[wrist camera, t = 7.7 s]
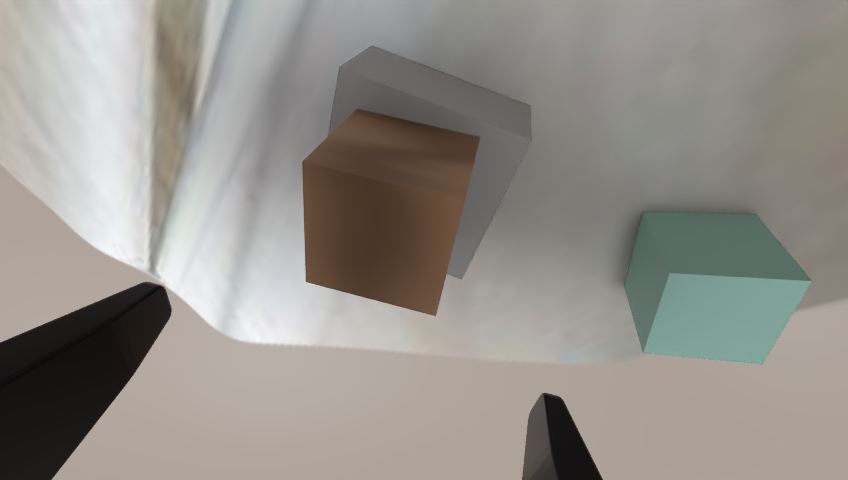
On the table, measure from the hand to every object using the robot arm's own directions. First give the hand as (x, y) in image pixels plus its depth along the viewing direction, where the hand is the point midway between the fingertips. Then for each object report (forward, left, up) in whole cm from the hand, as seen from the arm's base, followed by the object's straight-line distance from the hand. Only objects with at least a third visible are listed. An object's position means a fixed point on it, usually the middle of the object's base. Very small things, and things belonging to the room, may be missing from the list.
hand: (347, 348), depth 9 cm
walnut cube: (0, 0, -8) cm, 8 cm away
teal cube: (-13, +2, -12) cm, 18 cm away
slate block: (0, 0, -12) cm, 12 cm away
